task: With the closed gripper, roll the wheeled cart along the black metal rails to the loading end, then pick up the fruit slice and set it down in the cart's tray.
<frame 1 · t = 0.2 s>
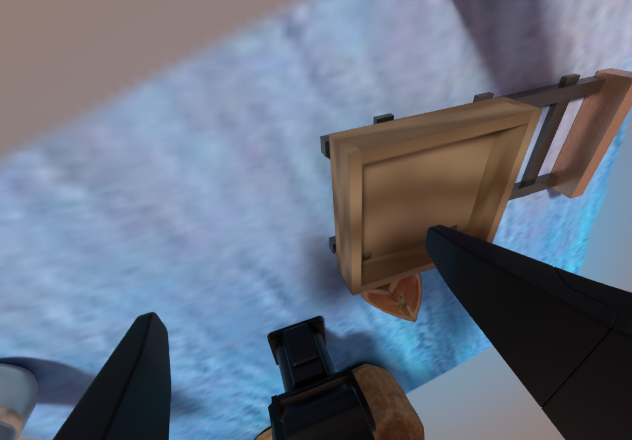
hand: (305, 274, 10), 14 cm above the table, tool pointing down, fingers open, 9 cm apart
fruit slice: (381, 271, 34), on the table
bread: (316, 404, 50), on the table
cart: (420, 199, 24), point 3 cm above the table, slide at 0.0 cm
rail track: (465, 162, 28), on the table
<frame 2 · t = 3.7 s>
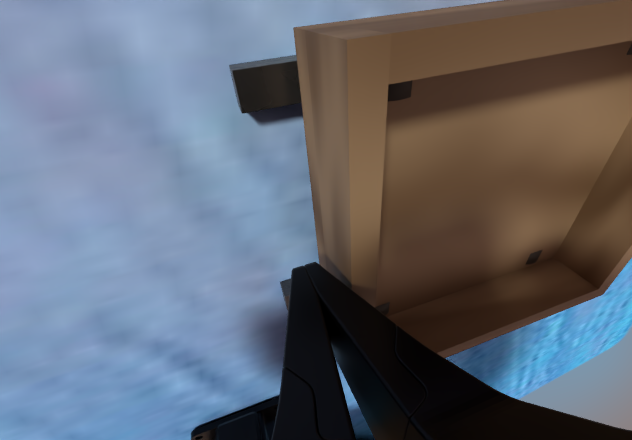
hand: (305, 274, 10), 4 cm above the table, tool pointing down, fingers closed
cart: (495, 203, 12), point 3 cm above the table, slide at 1.7 cm, touching gripper
rail track: (530, 144, 15), on the table
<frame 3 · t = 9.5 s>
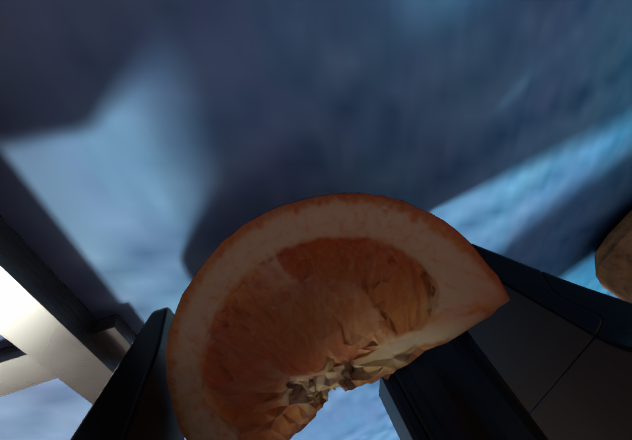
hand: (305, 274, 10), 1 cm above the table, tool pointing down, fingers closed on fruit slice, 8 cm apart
fruit slice: (290, 251, 10), on the table, touching gripper
when the fingers open (6 cm above the table, at t = 13.7 s): fruit slice drops 2 cm, resting on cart.
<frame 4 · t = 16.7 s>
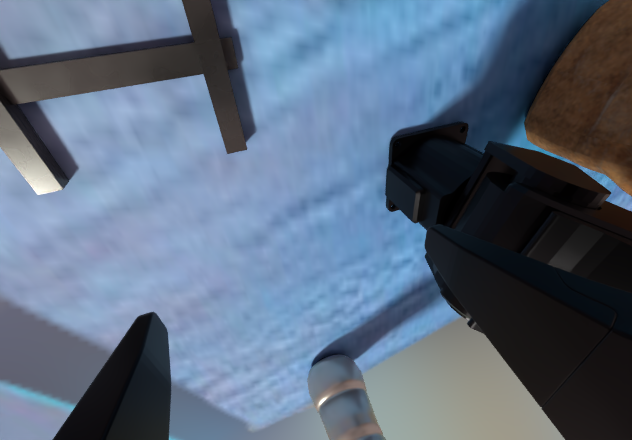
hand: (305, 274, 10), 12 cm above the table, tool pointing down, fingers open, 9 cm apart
bread: (619, 106, 28), on the table
plastic bottle: (327, 361, 38), on the table
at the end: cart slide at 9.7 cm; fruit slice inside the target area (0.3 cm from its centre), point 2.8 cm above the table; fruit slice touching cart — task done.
